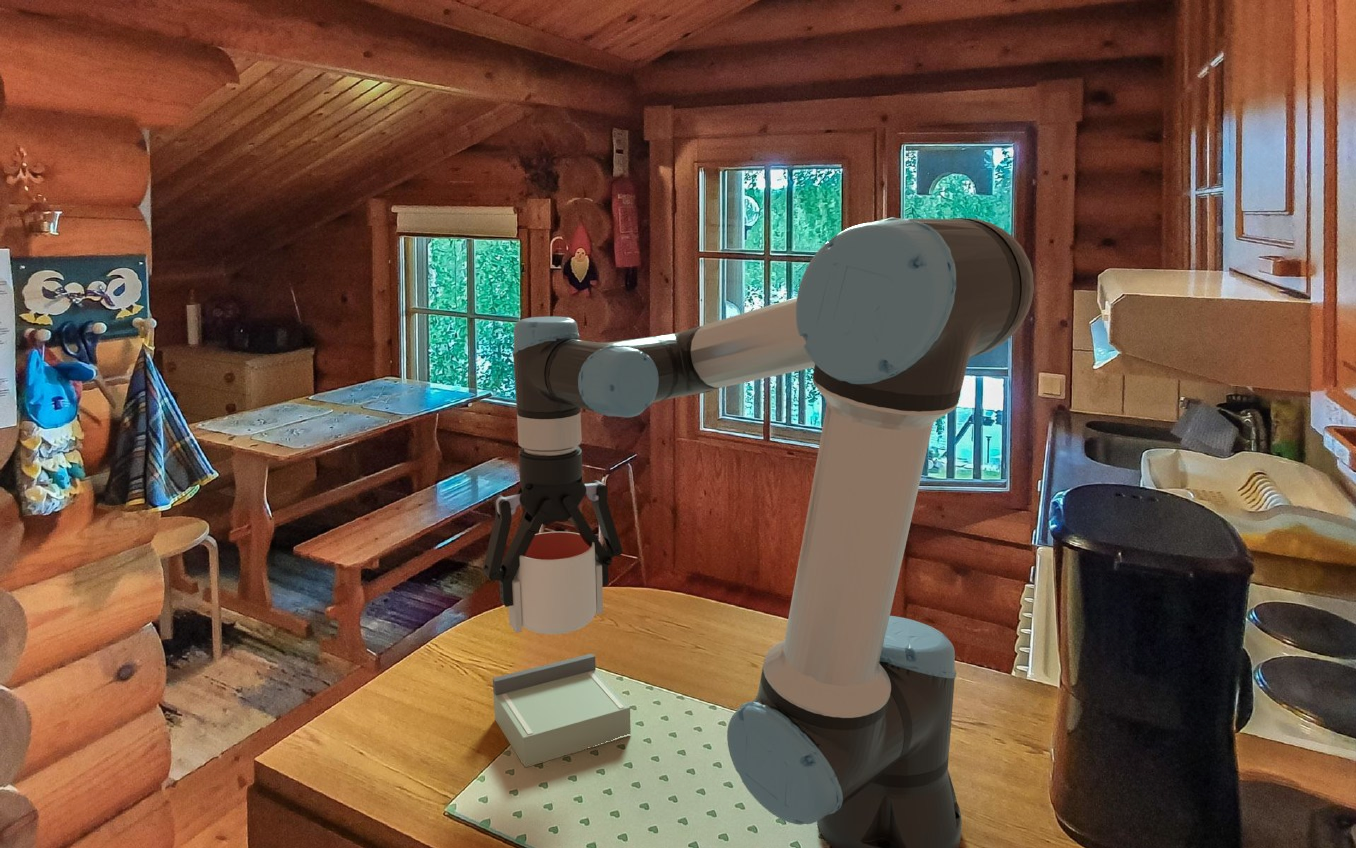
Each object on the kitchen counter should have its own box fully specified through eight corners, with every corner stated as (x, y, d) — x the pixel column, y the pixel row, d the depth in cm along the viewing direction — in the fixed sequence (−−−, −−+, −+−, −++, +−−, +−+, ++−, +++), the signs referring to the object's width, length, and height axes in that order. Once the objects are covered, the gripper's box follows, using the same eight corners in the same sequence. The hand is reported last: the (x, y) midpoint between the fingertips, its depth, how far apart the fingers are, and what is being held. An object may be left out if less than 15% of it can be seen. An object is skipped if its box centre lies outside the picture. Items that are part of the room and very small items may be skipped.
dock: (630, 735, 115) (629, 693, 114) (524, 767, 109) (522, 722, 107) (593, 693, 126) (592, 653, 124) (495, 719, 119) (492, 678, 118)
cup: (606, 606, 118) (604, 534, 115) (583, 642, 108) (580, 563, 106) (532, 600, 120) (529, 529, 117) (504, 635, 110) (499, 557, 108)
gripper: (622, 429, 117) (626, 590, 122) (447, 452, 107) (459, 626, 112) (648, 442, 111) (650, 611, 116) (465, 467, 100) (476, 651, 105)
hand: (556, 618), depth 114 cm, fingers closed on cup, 10 cm apart
